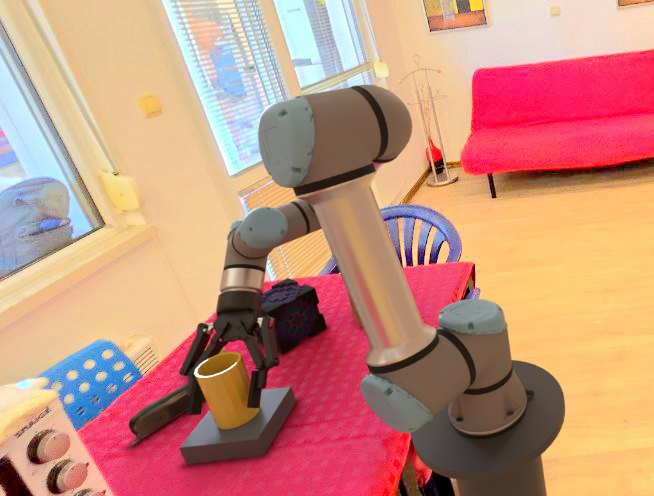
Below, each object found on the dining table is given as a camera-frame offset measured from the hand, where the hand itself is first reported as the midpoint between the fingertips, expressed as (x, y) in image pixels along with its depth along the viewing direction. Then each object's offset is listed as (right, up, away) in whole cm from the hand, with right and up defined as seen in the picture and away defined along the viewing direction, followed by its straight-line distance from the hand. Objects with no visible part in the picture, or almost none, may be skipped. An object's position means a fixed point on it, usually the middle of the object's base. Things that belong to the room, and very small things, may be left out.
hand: (223, 411), depth 96 cm
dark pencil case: (-18, -6, +11) cm, 22 cm away
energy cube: (-7, +5, +36) cm, 37 cm away
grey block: (0, -6, +6) cm, 8 cm away
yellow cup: (0, -2, +4) cm, 5 cm away
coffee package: (+11, +9, +42) cm, 45 cm away
